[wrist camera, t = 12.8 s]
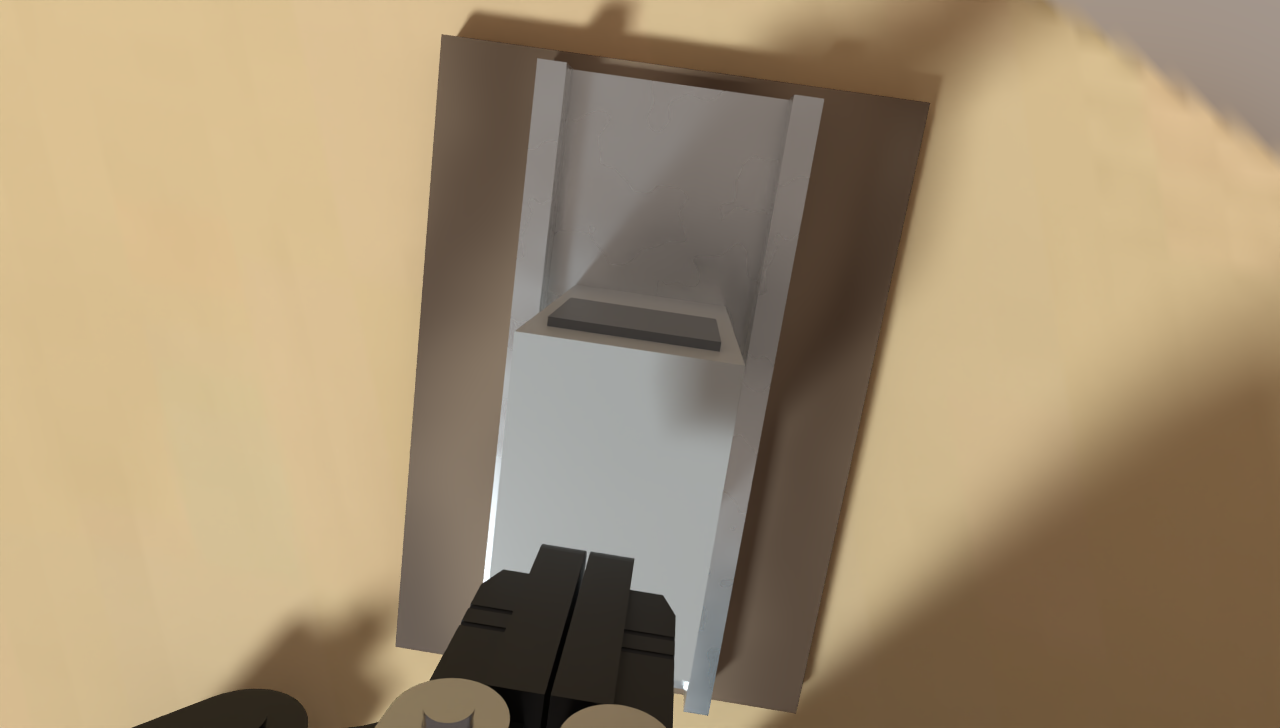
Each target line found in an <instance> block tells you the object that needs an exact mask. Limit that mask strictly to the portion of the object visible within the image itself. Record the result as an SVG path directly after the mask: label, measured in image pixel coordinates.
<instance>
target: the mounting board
mask: <svg viewBox="0 0 1280 728" xmlns="http://www.w3.org/2000/svg"><path fill="white" fill-rule="evenodd" d="M537 58H539V59H546V60H553V61H560V62H567V63H568V64H569V65H570V66H571V68H572V69H573V70H580V71H587V72H594V73H602V74H609V75H616V76H623V77H630V78H637V79H644V80H651V81H658V82H665V83H672V84H679V85H687V86H694V87H701V88H708V89H715V90H722V91H729V92H736V93H743V94H750V95H757V96H765V97H772V98H779V99H786V100H789V99H790V98H791V97H792V96H793V95H801V96H808V97H816V98H823V99H824V104H823V109H822V114H821V120H820V125H819V130H818V135H817V141H816V146H815V151H814V157H813V162H812V167H811V173H810V178H809V183H808V189H807V194H806V199H805V204H804V210H803V215H802V220H801V226H800V231H799V236H798V242H797V247H796V252H795V257H794V263H793V268H792V273H791V279H790V284H789V289H788V295H787V300H786V305H785V311H784V316H783V321H782V326H781V332H780V337H779V342H778V348H777V353H776V358H775V364H774V369H773V374H772V379H771V385H770V390H769V395H768V401H767V406H766V411H765V417H764V422H763V427H762V433H761V438H760V443H759V448H758V454H757V459H756V464H755V470H754V475H753V480H752V486H751V491H750V496H749V501H748V507H747V512H746V517H745V523H744V528H743V533H742V539H741V544H740V549H739V555H738V560H737V565H736V570H735V576H734V581H733V586H732V592H731V597H730V602H729V608H728V613H727V618H726V623H725V629H724V634H723V639H722V645H721V650H720V655H719V661H718V666H717V671H716V677H715V682H714V687H713V692H712V698H711V699H712V700H718V701H724V702H730V703H736V704H742V705H748V706H754V707H760V708H766V709H772V710H778V711H784V712H790V713H796V711H797V706H798V702H799V697H800V693H801V688H802V684H803V679H804V675H805V670H806V665H807V661H808V656H809V652H810V647H811V643H812V638H813V634H814V629H815V624H816V620H817V615H818V611H819V606H820V602H821V597H822V593H823V588H824V583H825V579H826V574H827V570H828V565H829V561H830V556H831V552H832V547H833V542H834V538H835V533H836V529H837V524H838V520H839V515H840V511H841V506H842V501H843V497H844V492H845V488H846V483H847V479H848V474H849V470H850V465H851V461H852V456H853V451H854V447H855V442H856V438H857V433H858V429H859V424H860V420H861V415H862V410H863V406H864V401H865V397H866V392H867V388H868V383H869V379H870V374H871V369H872V365H873V360H874V356H875V351H876V347H877V342H878V338H879V333H880V328H881V324H882V319H883V315H884V310H885V306H886V301H887V297H888V292H889V288H890V283H891V278H892V274H893V269H894V265H895V260H896V256H897V251H898V247H899V242H900V237H901V233H902V228H903V224H904V219H905V215H906V210H907V206H908V201H909V196H910V192H911V187H912V183H913V178H914V174H915V169H916V165H917V160H918V155H919V151H920V146H921V142H922V137H923V133H924V128H925V124H926V119H927V114H928V110H929V105H930V103H927V102H920V101H913V100H906V99H899V98H891V97H884V96H877V95H870V94H863V93H856V92H849V91H842V90H834V89H827V88H820V87H813V86H806V85H799V84H792V83H785V82H778V81H770V80H763V79H756V78H749V77H742V76H735V75H728V74H721V73H713V72H706V71H699V70H692V69H685V68H678V67H671V66H664V65H656V64H649V63H642V62H635V61H628V60H621V59H614V58H607V57H600V56H592V55H585V54H578V53H571V52H564V51H557V50H550V49H543V48H535V47H528V46H521V45H514V44H507V43H500V42H493V41H486V40H478V39H471V38H464V37H457V36H450V35H443V34H442V37H441V50H440V63H439V77H438V90H437V103H436V116H435V130H434V143H433V156H432V170H431V183H430V196H429V209H428V223H427V236H426V249H425V263H424V276H423V289H422V302H421V316H420V329H419V342H418V355H417V369H416V382H415V395H414V409H413V422H412V435H411V448H410V462H409V475H408V488H407V502H406V515H405V528H404V541H403V555H402V568H401V581H400V594H399V608H398V621H397V634H396V647H401V648H407V649H413V650H419V651H425V652H431V653H437V654H444V652H445V651H446V649H447V647H448V645H449V643H450V641H451V639H452V638H453V636H454V634H455V632H456V630H457V628H458V626H459V625H461V621H462V619H463V617H464V615H465V613H466V611H467V610H468V608H470V604H471V602H472V600H473V598H474V596H475V595H476V593H477V591H478V589H479V587H480V585H481V584H482V583H483V579H484V570H485V560H486V550H487V541H488V531H489V521H490V512H491V502H492V492H493V483H494V473H495V463H496V454H497V444H498V434H499V425H500V415H501V405H502V396H503V386H504V376H505V367H506V357H507V347H508V338H509V328H510V318H511V309H512V299H513V289H514V280H515V270H516V260H517V251H518V241H519V231H520V222H521V212H522V202H523V193H524V183H525V173H526V164H527V154H528V144H529V135H530V125H531V115H532V106H533V96H534V86H535V77H536V67H537ZM674 693H676V694H682V695H684V689H678V688H674Z"/></svg>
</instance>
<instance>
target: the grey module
mask: <svg viewBox="0 0 1280 728" xmlns="http://www.w3.org/2000/svg"><path fill="white" fill-rule="evenodd" d="M744 370H745V364H744V361H743V358H742V355H741V352H740V349H739V346H738V343H737V340H736V337H735V334H734V331H733V328H732V325H731V322H730V319H729V316H728V313H727V310H726V308H725V306H719V305H712V304H705V303H699V302H692V301H685V300H678V299H671V298H665V297H658V296H651V295H644V294H637V293H631V292H624V291H617V290H610V289H603V288H597V287H590V286H583V285H575V286H573V287H572V288H571V289H569V290H568V291H567V292H565V293H564V294H563V295H561V296H560V297H559V298H557V299H556V300H555V301H554V302H552V303H551V304H550V305H548V306H547V307H546V308H544V309H543V310H542V311H540V312H539V313H538V314H536V315H535V316H534V317H533V318H531V319H530V320H529V321H527V322H526V323H525V324H523V325H522V326H521V327H519V328H518V329H517V330H515V332H514V342H513V351H512V361H511V371H510V381H509V391H508V400H507V410H506V420H505V430H504V440H503V450H502V459H501V469H500V479H499V489H498V499H497V508H496V518H495V528H494V538H493V548H492V557H491V567H490V577H489V579H490V578H491V577H493V576H494V575H495V574H497V573H498V572H500V571H501V570H503V569H504V570H510V571H517V572H523V573H530V570H531V568H532V566H533V563H534V561H535V558H536V556H537V554H538V551H539V549H540V547H541V545H542V544H547V545H553V546H560V547H566V548H572V549H578V550H585V551H587V558H586V565H587V561H588V558H589V554H590V552H591V551H592V552H598V553H604V554H610V555H617V556H623V557H629V558H635V560H634V566H633V573H632V580H631V587H630V590H635V591H641V592H647V593H653V594H660V595H663V596H664V597H665V599H666V601H667V602H668V604H669V606H670V607H671V609H672V610H673V612H674V614H675V615H676V625H675V656H674V680H678V681H684V682H690V677H691V671H692V665H693V660H694V654H695V648H696V643H697V637H698V631H699V626H700V620H701V614H702V608H703V603H704V597H705V591H706V586H707V580H708V574H709V569H710V563H711V557H712V552H713V546H714V540H715V535H716V529H717V523H718V518H719V512H720V506H721V501H722V495H723V489H724V483H725V478H726V472H727V466H728V461H729V455H730V449H731V444H732V438H733V432H734V427H735V421H736V415H737V410H738V404H739V398H740V393H741V387H742V381H743V376H744ZM585 569H586V567H585Z"/></svg>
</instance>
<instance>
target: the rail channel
mask: <svg viewBox="0 0 1280 728" xmlns="http://www.w3.org/2000/svg"><path fill="white" fill-rule="evenodd" d="M823 104H824V99H823V98H816V97H808V96H801V95H793V96H792V97H791V98H790V99H789V100H786V99H779V98H772V97H765V96H757V95H750V94H743V93H736V92H729V91H722V90H715V89H708V88H701V87H694V86H687V85H679V84H672V83H665V82H658V81H651V80H644V79H637V78H630V77H623V76H616V75H609V74H602V73H594V72H587V71H580V70H573V69H572V68H571V66H570V65H569V64H568V63H567V62H560V61H553V60H546V59H539V58H537V67H536V77H535V86H534V96H533V106H532V115H531V125H530V135H529V144H528V154H527V164H526V173H525V183H524V193H523V202H522V212H521V222H520V231H519V241H518V251H517V260H516V270H515V280H514V289H513V299H512V309H511V318H510V328H509V338H508V347H507V357H506V367H505V376H504V386H503V396H502V405H501V415H500V425H499V434H498V444H497V454H496V463H495V473H494V483H493V492H492V502H491V512H490V521H489V531H488V541H487V550H486V560H485V570H484V579H483V583H484V582H485V581H487V580H488V579H489V577H490V567H491V557H492V548H493V538H494V528H495V518H496V508H497V499H498V489H499V479H500V469H501V459H502V450H503V440H504V430H505V420H506V410H507V400H508V391H509V381H510V371H511V361H512V351H513V342H514V332H515V330H517V329H518V328H519V327H521V326H522V325H523V324H525V323H526V322H527V321H529V320H530V319H531V318H533V317H534V316H535V315H536V314H538V313H539V312H540V311H542V310H543V309H544V308H546V307H547V306H548V305H550V304H551V303H552V302H554V301H555V300H556V299H557V298H559V297H560V296H561V295H563V294H564V293H565V292H567V291H568V290H569V289H571V288H572V287H573V286H575V285H583V286H590V287H597V288H603V289H610V290H617V291H624V292H631V293H637V294H644V295H651V296H658V297H665V298H671V299H678V300H685V301H692V302H699V303H705V304H712V305H719V306H725V308H726V310H727V313H728V316H729V319H730V322H731V325H732V328H733V331H734V334H735V337H736V340H737V343H738V346H739V349H740V352H741V355H742V358H743V361H744V364H745V370H744V376H743V381H742V387H741V393H740V398H739V404H738V410H737V415H736V421H735V427H734V432H733V438H732V444H731V449H730V455H729V461H728V466H727V472H726V478H725V483H724V489H723V495H722V501H721V506H720V512H719V518H718V523H717V529H716V535H715V540H714V546H713V552H712V557H711V563H710V569H709V574H708V580H707V586H706V591H705V597H704V603H703V608H702V614H701V620H700V626H699V631H698V637H697V643H696V648H695V654H694V660H693V665H692V671H691V677H690V682H684V681H678V680H674V688H678V689H684V712H690V713H696V714H702V715H707V716H708V714H709V708H710V703H711V698H712V692H713V687H714V682H715V677H716V671H717V666H718V661H719V655H720V650H721V645H722V639H723V634H724V629H725V623H726V618H727V613H728V608H729V602H730V597H731V592H732V586H733V581H734V576H735V570H736V565H737V560H738V555H739V549H740V544H741V539H742V533H743V528H744V523H745V517H746V512H747V507H748V501H749V496H750V491H751V486H752V480H753V475H754V470H755V464H756V459H757V454H758V448H759V443H760V438H761V433H762V427H763V422H764V417H765V411H766V406H767V401H768V395H769V390H770V385H771V379H772V374H773V369H774V364H775V358H776V353H777V348H778V342H779V337H780V332H781V326H782V321H783V316H784V311H785V305H786V300H787V295H788V289H789V284H790V279H791V273H792V268H793V263H794V257H795V252H796V247H797V242H798V236H799V231H800V226H801V220H802V215H803V210H804V204H805V199H806V194H807V189H808V183H809V178H810V173H811V167H812V162H813V157H814V151H815V146H816V141H817V135H818V130H819V125H820V120H821V114H822V109H823Z"/></svg>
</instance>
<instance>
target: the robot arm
mask: <svg viewBox="0 0 1280 728" xmlns="http://www.w3.org/2000/svg"><path fill="white" fill-rule="evenodd" d="M586 558H587V551H585V550H578V549H572V548H566V547H560V546H553V545H547V544H542V545H541V547H540V549H539V551H538V554H537V556H536V558H535V561H534V563H533V566H532V568H531V570H530V573H523V572H517V571H510V570H504V569H503V570H501V571H500V572H498V573H497V574H495V575H494V576H493V577H491V578H490V579H488V580H487V581H485V582H484V583H482V584H481V585H480V587H479V589H478V591H477V593H476V595H475V596H474V598H473V600H472V602H471V604H470V608H468V610H467V611H466V613H465V615H464V617H463V619H462V621H461V625H459V626H458V628H457V630H456V632H455V634H454V636H453V638H452V639H451V641H450V643H449V645H448V647H447V649H446V651H445V652H444V654H443V656H442V658H441V660H440V662H439V664H438V666H437V667H436V669H435V671H434V673H433V675H432V677H431V679H430V681H427V682H424V683H421V684H418V685H416V686H414V687H412V688H410V689H408V690H407V691H405V692H403V693H402V694H401V695H400V696H399V697H397V698H396V699H395V700H394V702H393V703H392V704H391V705H390V707H389V708H388V709H387V711H386V712H385V714H384V715H383V716H382V718H381V719H380V721H379V722H376V723H373V724H368V725H364V726H357V727H349V728H673V696H674V656H675V625H676V615H675V614H674V612H673V610H672V609H671V607H670V606H669V604H668V602H667V601H666V599H665V597H664V596H663V595H660V594H653V593H647V592H641V591H635V590H630V587H631V580H632V573H633V566H634V560H635V558H629V557H623V556H617V555H610V554H604V553H598V552H592V551H591V552H590V554H589V558H588V561H587V565H586ZM585 567H586V569H585ZM133 728H308V717H307V714H306V711H305V709H304V708H303V706H302V705H301V704H300V703H299V702H298V701H297V700H296V699H294V698H293V697H291V696H289V695H287V694H284V693H282V692H278V691H273V690H266V689H245V690H238V691H232V692H228V693H223V694H220V695H217V696H214V697H211V698H208V699H206V700H203V701H201V702H198V703H195V704H193V705H190V706H188V707H185V708H182V709H180V710H177V711H174V712H172V713H169V714H167V715H164V716H161V717H159V718H156V719H154V720H151V721H148V722H146V723H143V724H140V725H138V726H135V727H133Z"/></svg>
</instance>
